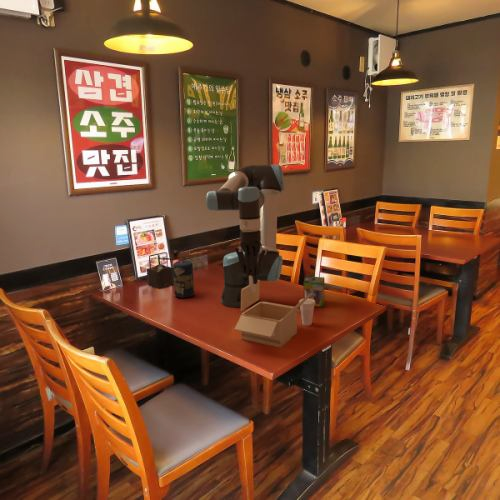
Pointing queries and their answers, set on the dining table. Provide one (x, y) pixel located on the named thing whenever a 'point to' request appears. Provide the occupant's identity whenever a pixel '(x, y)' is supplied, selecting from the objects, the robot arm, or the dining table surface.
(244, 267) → the robot arm
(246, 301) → the flap
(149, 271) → the dark condiment caddy
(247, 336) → the carton
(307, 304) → the smoothie
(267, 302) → the flap
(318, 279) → the chalk box
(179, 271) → the canister
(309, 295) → the flap
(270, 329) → the flap
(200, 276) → the dining table surface
